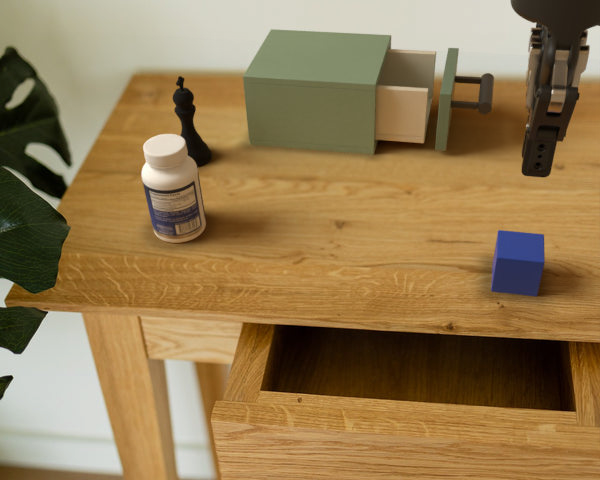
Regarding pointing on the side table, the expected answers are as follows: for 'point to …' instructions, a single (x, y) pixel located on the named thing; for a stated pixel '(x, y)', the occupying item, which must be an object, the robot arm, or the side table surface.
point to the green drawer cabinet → (315, 90)
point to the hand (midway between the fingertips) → (535, 165)
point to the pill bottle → (172, 189)
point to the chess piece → (190, 125)
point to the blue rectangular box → (518, 263)
